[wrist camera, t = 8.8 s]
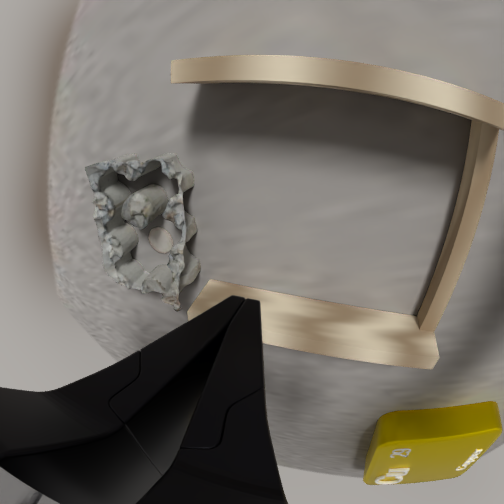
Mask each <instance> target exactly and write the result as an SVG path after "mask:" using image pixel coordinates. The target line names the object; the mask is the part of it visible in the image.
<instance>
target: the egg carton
mask: <svg viewBox="0 0 504 504" xmlns="http://www.w3.org/2000/svg"><path fill="white" fill-rule="evenodd" d="M161 164H162V172H163V173H164V174H165V175H166V176H167V177H168V178H169V179H172V178H174V179H177V180H178V186H179V193H178V194H177V195H175V196H173V197H172V198H171V199H169V201H168V197H167V194H166V192H165V190H164V189H163V188H162V187H161V186H159V185H156V184H150V185H148V186H145V187H143V188H142V189H140V190H138V191H136V192H135V193H132V194H131V193H130V191H129V189H128V188H127V187H126V186H125V185H124V184H123V183H120V182H119V181H118V178H117V173H118V174H123V175H125V177H126V178H127V179H128V180H130V181H131V180H132V181H135V180H136V179H137V178H139V177H140V176H142V175H144V174H146V173H148V172H151V171H153V170H155V169H157V168H158V167H160V166H161ZM85 171H86V173H87V176H88V179H89V182H90V186H91V189H92V190H93V192H94V201H93V204H94V205H96V209H95V212H94V215H93V218H94V220H95V222H96V224H97V228H98V236H99V239H100V242H101V247H102V260H103V267H104V270H105V272H106V273H107V274H108V276H110V277H111V278H112V279H113V280H114V281H115V282H116V283H118V284H120V285H124V286H126V287H127V288H128V289H131V288H134V289H139V290H141V293H144V294H146V293H149V292H151V291H156V292H160V293H163V294H162V295H163V297H162V298H161V301H163V302H164V303H167V304H171V305H173V306H174V307H175V308H173V309H174V310H175V311H180V310H181V309H182V308H181V307H180V302H179V301H178V296H179V293H180V292H181V291H182V290H183V288H184V287H185V286H186V285H189V284H191V283H192V282H193V281H194V280H195V278H196V277H197V275H198V273H199V271H200V269H201V265H200V260H199V259H197V258H195V257H194V256H193V255H191V254H190V252H189V251H188V249H187V247H186V242H187V241H189V239H190V238H191V237H192V236H193V235H194V234H195V233H196V232H197V226H196V222H195V218H194V217H193V216H191V215H189V214H188V213H187V212H186V211H185V210H184V206H183V192H185V191H186V190H187V189H189V188H191V187H193V186H194V175H193V172H192V171H191V170H188V169H186V168H185V167H183V166H182V164H181V163H180V161H179V158H178V156H177V154H176V153H165V154H164V155H161V156H159V157H156V158H153V159H150V160H148V161H145V162H142V163H141V162H140V160H139V158H138V156H137V154H127V155H124V156H122V157H119V158H117V159H114V160H111V161H104V162H100V163H96V164H93V165H90V166H87V167H85ZM163 212H164V213H163ZM161 213H163V217H164V219H165V220H169V221H171V222H173V223H174V225H175V226H176V227H177V228H178V229H180V230H182V238H181V240H180V241H179V242H178V243H177V244H176V245H175V246H173V240H172V237H171V235H170V234H169V233H168V232H167V231H166V230H165V229H164V228H161V227H155V228H153V229H151V231H150V232H149V239H148V240H149V243H150V244H151V246H152V248H154V249H155V250H156V251H157V252H159V253H165V254H166V253H168V252H170V254H169V263H168V264H167V265H159V266H157V267H156V268H155V269H154V270H153V271H152V272H151V273H149V272H146V271H145V270H144V268H143V266H142V265H141V263H140V262H138V261H137V260H135V259H133V258H132V256H131V253H130V251H131V250H132V249H133V248H134V247H135V246H137V244H138V235H137V233H136V230H135V229H134V228H133V227H132V226H131V225H133V226H135V227H138V228H139V229H143V228H145V227H146V226H147V225H148V224H149V223H150V222H151V221H152V220H153V219H155V218H156V217H157V216H159V215H160V214H161ZM124 219H125V220H127V221H128V222H129V223H130V224H131V225H130V224H128V223H126V222H125V221H124Z"/></svg>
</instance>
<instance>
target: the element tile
mask: <svg viewBox="0 0 504 504" xmlns="http://www.w3.org/2000/svg"><path fill="white" fill-rule="evenodd" d="M501 433H502V424H501V419H500V414H499V409H498V405H497V403H496V402H493V401H488V402H482V403H475V404H468V405H461V406H453V407H444V408H433V409H420V410H403V411H394V412H390V413H387V414H385V415H383V416H381V417H380V418H379V419H378V421H377V424H376V428H375V431H374V434H373V437H372V441H371V444H370V447H369V450H368V453H367V456H366V462H365V470H364V477H363V481H364V482H365V483H366V484H368V485H389V484H406V483H417V482H428V481H436V480H443V479H449V478H455V477H458V476H460V475H461V474H463V473H464V472H465V471H467V470H468V469H469V468H470V467H471V466H472V465H473V464H474V463H475V462H476V461H477V460H478V459H479V458H480V457H481V456H482V455H483V454H484V453H485V452H486V451H487V449H488V448H489V447H490V446H491V445H492V444H493V443H494V442H495V441H496V440H497V438H498V437H499V436H500V435H501Z"/></svg>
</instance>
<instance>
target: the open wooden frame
mask: <svg viewBox="0 0 504 504" xmlns="http://www.w3.org/2000/svg"><path fill="white" fill-rule="evenodd" d="M171 83H199V84H210V83H268V84H288V85H302V86H313V87H323V88H331V89H339V90H347V91H353V92H360V93H366V94H372V95H377V96H383V97H388V98H393V99H397V100H402V101H406V102H411V103H415V104H419V105H423V106H427V107H431V108H434V109H438V110H442V111H445V112H448V113H452V114H455V115H458V116H461V117H464V118H468V119H471V120H472V122H471V130H470V137H469V143H468V149H467V155H466V160H465V165H464V170H463V175H462V180H461V184H460V189H459V193H458V197H457V201H456V205H455V209H454V213H453V216H452V220H451V223H450V227H449V230H448V233H447V237H446V240H445V243H444V246H443V249H442V252H441V255H440V258H439V261H438V264H437V267H436V269H435V272H434V275H433V278H432V280H431V283H430V285H429V288H428V291H427V293H426V295H425V298H424V300H423V303H422V305H421V308H420V310H419V312H418V314H417V316H413V315H406V314H399V313H393V312H386V311H380V310H374V309H368V308H362V307H356V306H350V305H344V304H338V303H332V302H326V301H321V300H315V299H310V298H304V297H299V296H293V295H288V294H283V293H277V292H272V291H267V290H262V289H257V288H252V287H247V286H242V285H237V284H232V283H227V282H222V281H217V280H213V279H210V280H209V281H208V283H207V284H206V286H205V287H204V288H203V290H202V291H201V293H200V294H199V295H198V297H197V298H196V300H195V301H194V303H193V304H192V305H191V307H190V308H189V310H188V311H187V315H188V321H190V320H191V319H193V318H195V317H196V316H198V315H200V314H201V313H203V312H205V311H206V310H208V309H210V308H211V307H213V306H214V305H216V304H218V303H219V302H221V301H223V300H224V299H226V298H228V297H229V296H231V295H236V296H241V297H244V298H245V299H247V298H250V299H255V300H259V301H260V303H261V322H262V341H263V343H266V344H270V345H275V346H280V347H284V348H289V349H294V350H299V351H305V352H310V353H315V354H321V355H327V356H332V357H338V358H345V359H351V360H358V361H364V362H371V363H379V364H386V365H394V366H403V367H412V368H422V369H433V367H434V366H435V364H436V363H437V361H438V359H439V353H438V348H437V343H436V339H435V334H434V331H435V329H436V327H437V325H438V323H439V321H440V319H441V317H442V315H443V313H444V310H445V308H446V306H447V304H448V302H449V300H450V297H451V295H452V293H453V290H454V288H455V286H456V283H457V281H458V279H459V276H460V274H461V271H462V268H463V266H464V263H465V261H466V258H467V255H468V252H469V250H470V247H471V244H472V241H473V238H474V235H475V232H476V229H477V226H478V222H479V219H480V216H481V212H482V209H483V205H484V201H485V197H486V194H487V190H488V185H489V181H490V177H491V172H492V167H493V162H494V157H495V152H496V146H497V140H498V133H499V129H501V130H504V103H501V102H499V101H497V100H494V99H492V98H489V97H487V96H484V95H482V94H479V93H476V92H473V91H471V90H468V89H465V88H462V87H459V86H456V85H453V84H450V83H446V82H443V81H440V80H436V79H433V78H429V77H425V76H422V75H418V74H414V73H410V72H405V71H401V70H396V69H391V68H387V67H381V66H376V65H370V64H364V63H358V62H351V61H343V60H335V59H326V58H315V57H302V56H282V55H234V56H214V57H201V58H190V59H181V60H173V61H171Z"/></svg>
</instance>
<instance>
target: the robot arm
mask: <svg viewBox="0 0 504 504" xmlns="http://www.w3.org/2000/svg"><path fill="white" fill-rule="evenodd" d="M0 504H288V502H287V500H286V497H285V494H284V491H283V487H282V483H281V479H280V475H279V471H278V467H277V462H276V458H275V454H274V449H273V445H272V441H271V436H270V431H269V425H268V420H267V410H266V398H265V380H264V361H263V341H262V322H261V303H260V301H259V300H255V299H250V298H247V299H245V298H244V297H241V296H236V295H231V296H229V297H228V298H226V299H224V300H223V301H221V302H219V303H218V304H216V305H214V306H213V307H211V308H210V309H208V310H206V311H205V312H203V313H201V314H200V315H198V316H196V317H195V318H193V319H191V320H190V321H188V322H186V323H185V324H183V325H181V326H180V327H178V328H176V329H174V330H173V331H171V332H169V333H168V334H166V335H164V336H163V337H161V338H159V339H158V340H156V341H154V342H152V343H151V344H149V345H147V346H146V347H144V348H142V349H141V350H140V351H137V352H135V353H133V354H132V355H130V356H128V357H126V358H124V359H123V360H121V361H119V362H117V363H115V364H113V365H111V366H109V367H107V368H105V369H103V370H101V371H98V372H96V373H94V374H92V375H89V376H87V377H85V378H82V379H80V380H78V381H75V382H73V383H70V384H68V385H66V386H63V387H61V388H58V389H55V390H51V391H45V392H33V391H24V390H16V389H9V388H2V387H0Z"/></svg>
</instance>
